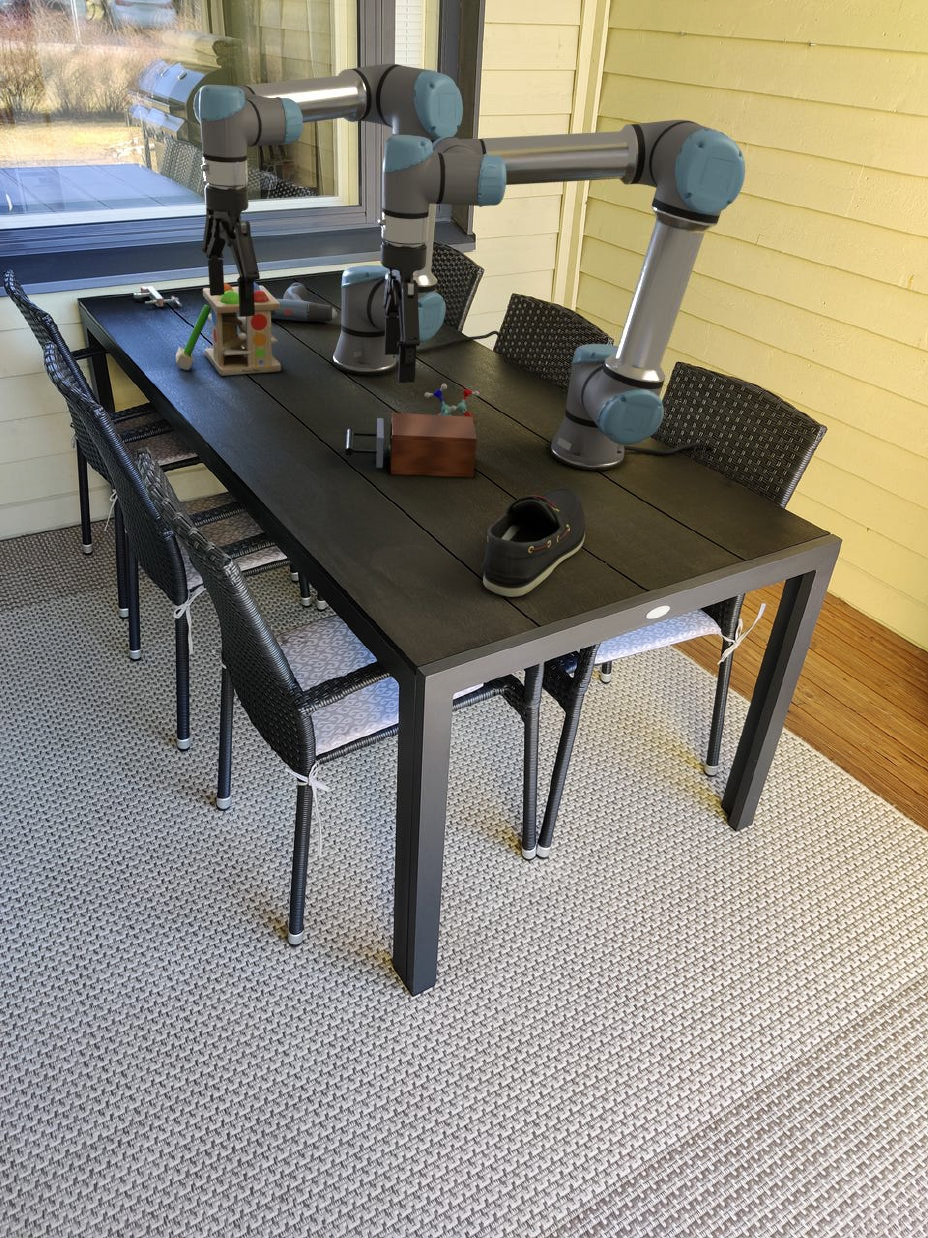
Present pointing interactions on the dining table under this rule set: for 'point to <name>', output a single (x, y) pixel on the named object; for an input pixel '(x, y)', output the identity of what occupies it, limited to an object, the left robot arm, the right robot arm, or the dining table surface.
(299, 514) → the dining table surface
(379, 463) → the drawer
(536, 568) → the boat shoe
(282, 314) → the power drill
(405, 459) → the cabinet
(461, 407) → the molecular model
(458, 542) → the dining table surface
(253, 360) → the pounding bench toy
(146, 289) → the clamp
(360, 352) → the left robot arm
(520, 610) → the dining table surface
